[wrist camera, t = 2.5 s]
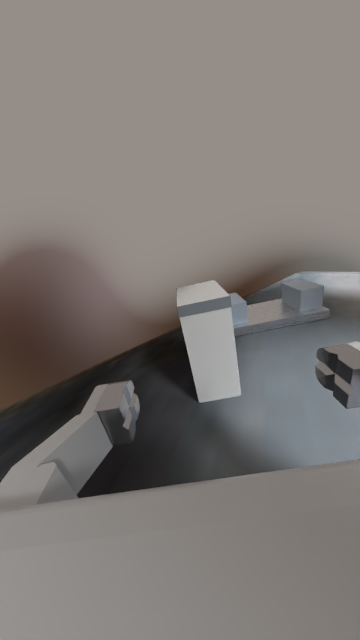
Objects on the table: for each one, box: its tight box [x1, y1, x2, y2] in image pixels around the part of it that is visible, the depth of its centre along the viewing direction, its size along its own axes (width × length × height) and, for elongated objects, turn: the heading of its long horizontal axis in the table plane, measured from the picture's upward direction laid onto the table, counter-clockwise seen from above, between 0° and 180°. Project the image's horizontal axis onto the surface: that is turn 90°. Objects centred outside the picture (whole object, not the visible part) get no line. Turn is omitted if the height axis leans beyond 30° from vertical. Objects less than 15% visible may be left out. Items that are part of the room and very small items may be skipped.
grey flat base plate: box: [233, 298, 330, 337], centre depth 35 cm, size 16×8×2 cm, turn 92°
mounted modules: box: [229, 279, 324, 325], centre depth 34 cm, size 16×6×4 cm, turn 92°
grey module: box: [176, 280, 241, 403], centre depth 22 cm, size 5×7×11 cm, turn 2°
